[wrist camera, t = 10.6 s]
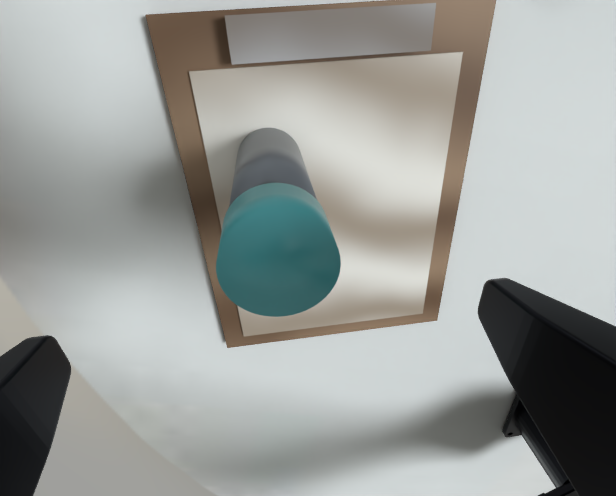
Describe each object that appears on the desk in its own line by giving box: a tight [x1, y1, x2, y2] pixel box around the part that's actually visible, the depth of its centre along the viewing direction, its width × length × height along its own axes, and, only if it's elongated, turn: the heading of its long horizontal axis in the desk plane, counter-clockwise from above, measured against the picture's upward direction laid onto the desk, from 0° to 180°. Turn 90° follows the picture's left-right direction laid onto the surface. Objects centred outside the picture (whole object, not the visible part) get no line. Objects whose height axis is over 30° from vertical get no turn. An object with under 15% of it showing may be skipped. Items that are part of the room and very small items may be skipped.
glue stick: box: [216, 128, 341, 317], centre depth 13 cm, size 3×3×9 cm
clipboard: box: [146, 0, 496, 348], centre depth 19 cm, size 18×14×2 cm
